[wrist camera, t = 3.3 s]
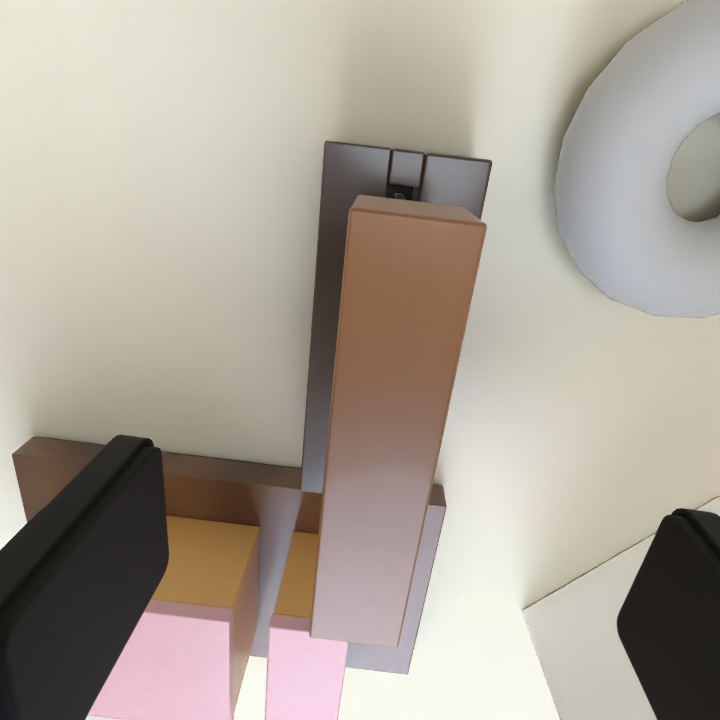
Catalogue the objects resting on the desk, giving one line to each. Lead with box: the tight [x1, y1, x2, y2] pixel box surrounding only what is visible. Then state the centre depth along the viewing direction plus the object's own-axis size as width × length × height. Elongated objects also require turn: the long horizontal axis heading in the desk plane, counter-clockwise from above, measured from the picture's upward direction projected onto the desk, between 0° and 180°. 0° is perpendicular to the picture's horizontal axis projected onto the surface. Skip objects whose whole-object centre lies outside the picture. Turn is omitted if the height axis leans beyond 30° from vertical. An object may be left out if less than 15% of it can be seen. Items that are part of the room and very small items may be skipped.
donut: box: [554, 0, 720, 318], centre depth 16 cm, size 10×3×10 cm
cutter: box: [309, 193, 487, 648], centre depth 15 cm, size 2×11×10 cm, turn 174°
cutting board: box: [12, 437, 446, 674], centre depth 25 cm, size 20×12×2 cm, turn 84°
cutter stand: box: [300, 141, 492, 494], centre depth 18 cm, size 5×13×4 cm, turn 174°
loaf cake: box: [88, 516, 260, 720], centre depth 22 cm, size 10×7×5 cm
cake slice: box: [265, 531, 349, 720], centre depth 22 cm, size 3×7×5 cm, turn 174°
